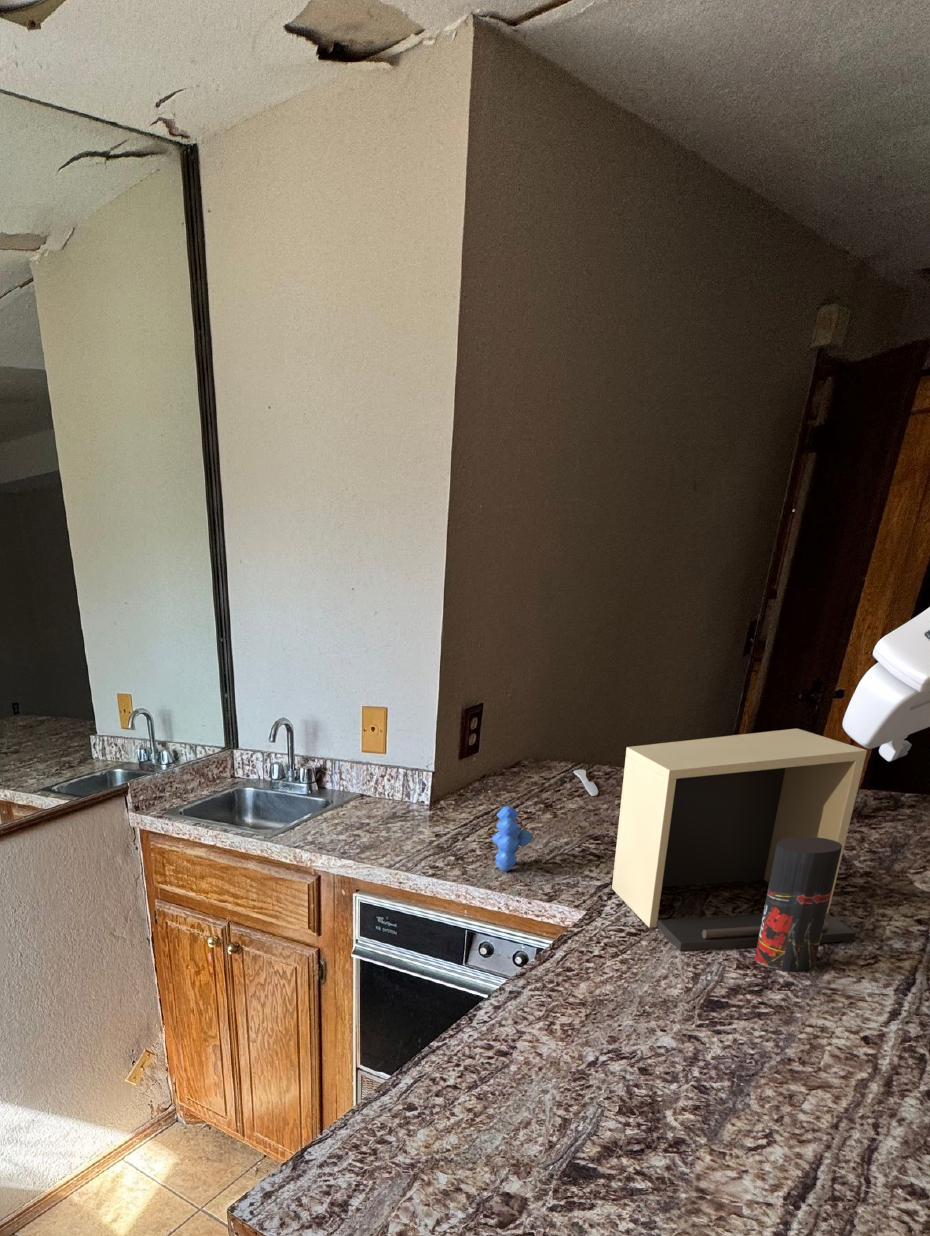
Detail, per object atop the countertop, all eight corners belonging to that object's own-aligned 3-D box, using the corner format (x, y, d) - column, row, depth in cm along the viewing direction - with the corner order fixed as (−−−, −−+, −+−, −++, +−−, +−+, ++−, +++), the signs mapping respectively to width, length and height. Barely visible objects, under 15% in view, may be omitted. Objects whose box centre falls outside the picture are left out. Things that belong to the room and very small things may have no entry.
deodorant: (825, 970, 93) (853, 850, 87) (768, 972, 94) (792, 854, 88) (798, 949, 98) (824, 835, 92) (745, 952, 100) (767, 839, 93)
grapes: (534, 881, 131) (538, 812, 126) (490, 882, 133) (493, 814, 128) (529, 859, 141) (533, 793, 135) (489, 860, 143) (491, 796, 138)
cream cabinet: (768, 877, 119) (797, 728, 109) (864, 940, 98) (910, 763, 88) (611, 888, 124) (626, 747, 114) (671, 951, 103) (695, 784, 93)
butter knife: (586, 769, 188) (573, 770, 189) (601, 794, 168) (586, 795, 169) (586, 770, 188) (572, 771, 189) (601, 796, 168) (586, 797, 169)
